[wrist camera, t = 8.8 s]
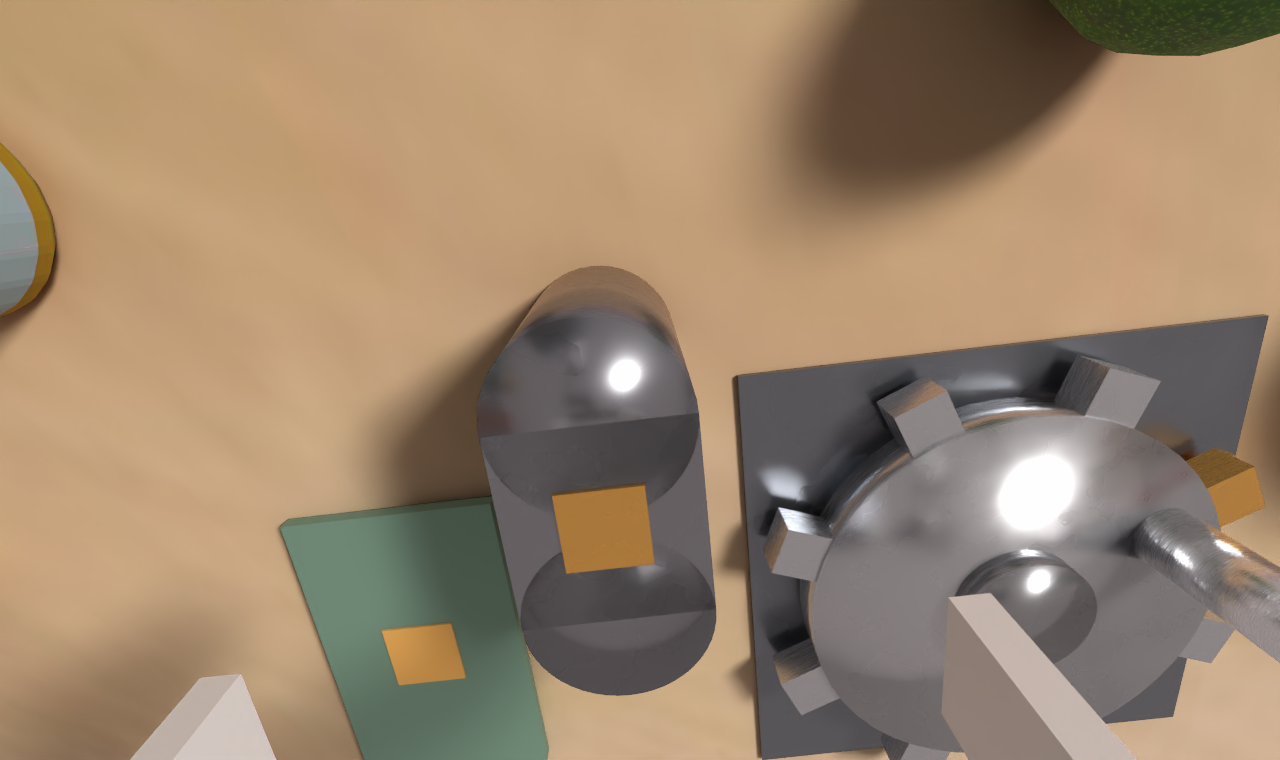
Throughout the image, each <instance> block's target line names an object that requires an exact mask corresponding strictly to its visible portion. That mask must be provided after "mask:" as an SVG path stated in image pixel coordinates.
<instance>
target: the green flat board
mask: <svg viewBox="0 0 1280 760" xmlns="http://www.w3.org/2000/svg"><path fill="white" fill-rule="evenodd" d="M280 529H281V532H282V534H283V537H284V540H285V543H286V546H287V548H288V551H289V554H290V557H291V559H292V562H293V565H294V568H295V570H296V573H297V576H298V579H299V581H300V584H301V587H302V590H303V592H304V595H305V598H306V601H307V603H308V606H309V609H310V612H311V614H312V617H313V620H314V623H315V625H316V628H317V631H318V634H319V636H320V639H321V642H322V645H323V647H324V650H325V653H326V656H327V658H328V661H329V664H330V667H331V669H332V672H333V675H334V678H335V680H336V683H337V686H338V689H339V691H340V694H341V697H342V700H343V702H344V705H345V708H346V711H347V713H348V716H349V719H350V722H351V725H352V727H353V730H354V733H355V736H356V738H357V741H358V744H359V747H360V749H361V752H362V755H363V758H364V760H547V759H548V751H549V746H548V742H547V737H546V733H545V728H544V724H543V719H542V715H541V710H540V706H539V701H538V697H537V692H536V688H535V683H534V679H533V674H532V670H531V665H530V661H529V656H528V652H527V647H526V643H525V639H524V636H523V633H522V629H521V624H520V620H519V615H518V611H517V606H516V602H515V597H514V593H513V588H512V584H511V579H510V575H509V571H508V566H507V562H506V557H505V553H504V548H503V544H502V539H501V535H500V530H499V526H498V521H497V517H496V512H495V508H494V503H493V499H492V496H489V497H480V498H471V499H463V500H454V501H445V502H436V503H427V504H418V505H409V506H401V507H392V508H383V509H374V510H365V511H356V512H347V513H339V514H330V515H321V516H312V517H303V518H294V519H288V520H287V521H286V522H285V523H284V524H283V525H282V526H281V527H280Z"/></svg>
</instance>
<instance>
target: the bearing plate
mask: <svg viewBox="0 0 1280 760" xmlns="http://www.w3.org/2000/svg"><path fill="white" fill-rule="evenodd" d="M1267 321H1268V315H1254V316H1246V317H1237V318H1228V319H1220V320H1211V321H1202V322H1194V323H1185V324H1176V325H1168V326H1159V327H1150V328H1142V329H1133V330H1124V331H1116V332H1107V333H1098V334H1090V335H1081V336H1072V337H1063V338H1055V339H1046V340H1037V341H1029V342H1020V343H1011V344H1003V345H994V346H985V347H977V348H968V349H959V350H951V351H942V352H933V353H925V354H916V355H907V356H899V357H890V358H881V359H873V360H864V361H855V362H847V363H838V364H829V365H820V366H812V367H803V368H794V369H786V370H777V371H768V372H760V373H751V374H742V375H737V381H738V396H739V412H740V428H741V443H742V459H743V475H744V491H745V506H746V522H747V538H748V554H749V569H750V585H751V601H752V616H753V632H754V648H755V664H756V679H757V695H758V711H759V727H760V742H761V757H762V760H766V759H776V758H785V757H795V756H804V755H814V754H823V753H833V752H842V751H852V750H861V749H871V748H880V747H884V746H883V744H882V741H881V737H882V735H883V732H881V731H879V730H877V729H875V728H874V727H872V726H871V725H869V724H868V723H867V722H865V721H864V720H862V719H861V718H860V717H858V716H857V715H856V714H855V713H854V712H853V711H852V710H851V709H850V708H849V707H848V706H847V705H845V704H844V703H843V701H842V700H841V699H840V698H839V699H837V700H835V701H832V702H830V703H828V704H826V705H823V706H821V707H819V708H817V709H814V710H812V711H810V712H808V713H806V714H803V715H801V714H800V713H799V711H798V710H797V708H796V707H795V705H794V704H793V702H792V701H791V699H790V698H789V696H788V695H787V693H786V692H785V690H784V689H783V687H782V686H781V683H780V680H779V677H778V673H777V670H776V667H775V664H774V660H773V657H772V655H774V654H776V653H778V652H781V651H783V650H785V649H787V648H789V647H791V646H793V645H795V644H798V643H800V642H802V641H804V640H806V639H808V638H810V637H809V634H808V631H807V628H806V625H805V622H804V619H803V616H802V609H801V602H800V579H799V578H794V577H789V576H784V575H779V574H774V573H772V572H771V570H770V567H769V564H768V562H767V559H766V556H765V553H764V551H763V546H764V544H765V541H766V538H767V536H768V533H769V530H770V528H771V525H772V522H773V520H774V517H775V515H776V512H777V509H778V507H779V508H784V509H788V510H793V511H798V512H802V513H807V514H811V515H816V516H819V515H820V513H821V512H822V510H823V509H824V507H825V506H826V504H827V502H828V501H829V499H830V498H831V496H832V495H833V493H834V492H835V491H836V490H837V488H838V487H839V486H840V485H841V484H842V483H843V481H844V480H845V479H846V478H847V477H848V475H849V474H850V473H851V472H852V471H853V470H854V469H855V468H857V467H858V466H859V465H860V464H861V463H862V462H863V461H864V460H865V459H866V458H867V457H868V456H869V455H871V454H872V453H873V452H875V451H876V450H877V449H879V448H880V447H881V446H883V445H884V444H885V443H887V442H888V441H889V440H891V439H892V438H894V437H893V435H892V433H891V431H890V429H889V427H888V425H887V423H886V421H885V419H884V417H883V415H882V413H881V411H880V409H879V407H878V404H877V401H879V400H881V399H883V398H885V397H887V396H888V395H890V394H892V393H894V392H896V391H898V390H900V389H902V388H904V387H906V386H907V385H909V384H911V383H913V382H915V381H917V380H919V379H921V378H923V377H925V376H926V377H927V378H929V379H930V380H932V381H933V382H935V383H936V384H938V385H939V386H941V387H942V388H943V389H945V390H946V391H947V392H948V394H949V396H950V399H951V401H952V403H953V405H954V408H955V409H956V408H959V407H962V406H966V405H969V404H974V403H979V402H984V401H989V400H994V399H1004V398H1016V397H1036V398H1052V399H1055V398H1056V396H1057V394H1058V392H1059V390H1060V388H1061V386H1062V384H1063V382H1064V380H1065V378H1066V376H1067V374H1068V372H1069V370H1070V368H1071V366H1072V364H1073V362H1074V361H1075V359H1076V357H1077V355H1080V356H1084V357H1088V358H1092V359H1096V360H1100V361H1103V362H1107V363H1111V364H1115V365H1119V366H1123V367H1126V368H1129V369H1131V370H1134V371H1136V372H1139V373H1141V374H1144V375H1146V376H1149V377H1152V378H1154V379H1157V380H1159V381H1161V382H1160V384H1159V386H1158V387H1157V389H1156V391H1155V393H1154V394H1153V396H1152V398H1151V400H1150V401H1149V403H1148V405H1147V407H1146V409H1145V410H1144V412H1143V414H1142V416H1141V417H1140V419H1139V421H1138V423H1137V424H1136V426H1135V428H1134V429H1136V430H1138V431H1140V432H1142V433H1144V434H1146V435H1148V436H1150V437H1152V438H1154V439H1156V440H1158V441H1160V442H1162V443H1163V444H1165V445H1166V446H1167V447H1169V448H1170V449H1171V450H1173V451H1174V452H1175V453H1177V454H1178V455H1180V456H1181V457H1182V458H1183V459H1184V460H1185V461H1187V460H1190V459H1192V458H1194V457H1196V456H1198V455H1200V454H1202V453H1204V452H1207V451H1209V450H1211V449H1213V448H1216V449H1218V450H1220V451H1222V452H1224V453H1226V454H1229V455H1231V456H1233V457H1235V455H1236V450H1237V446H1238V442H1239V438H1240V434H1241V429H1242V425H1243V421H1244V417H1245V413H1246V408H1247V404H1248V400H1249V396H1250V392H1251V388H1252V383H1253V379H1254V375H1255V371H1256V367H1257V362H1258V358H1259V354H1260V350H1261V346H1262V341H1263V337H1264V333H1265V329H1266V325H1267ZM1186 660H1187V658H1184V657H1179V656H1178V657H1177V659H1176V660H1175V661H1174V662H1173V663H1172V664H1171V665H1170V666H1169V667H1168V668H1167V669H1166V670H1165V671H1164V672H1163V673H1162V675H1161V676H1160V677H1159V678H1157V679H1156V680H1155V681H1154V682H1153V683H1152V684H1150V685H1149V686H1148V687H1147V688H1146V689H1145V690H1144V691H1142V692H1141V693H1140V694H1139V695H1137V696H1136V697H1134V698H1133V699H1132V700H1130V701H1129V702H1127V703H1126V704H1125V705H1123V706H1122V707H1120V708H1119V709H1117V710H1115V711H1114V712H1112V713H1110V714H1108V715H1107V716H1105V717H1103V718H1102V720H1103V721H1104V722H1105V723H1106V724H1108V723H1117V722H1127V721H1136V720H1146V719H1155V718H1165V717H1173V714H1174V710H1175V706H1176V702H1177V697H1178V693H1179V689H1180V685H1181V681H1182V677H1183V672H1184V668H1185V664H1186Z"/></svg>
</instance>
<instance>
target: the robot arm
mask: <svg viewBox="0 0 1280 760" xmlns="http://www.w3.org/2000/svg"><path fill="white" fill-rule="evenodd" d="M941 714H942V715H943V717H944V719H945V720H946V722H947V724H948V725H949V727H950V729H951V731H952V732H953V734H954V736H955V737H956V739H957V741H958V742H959V744H960V746H961V747H962V749H963V751H964V753H965V754H966V756H967V758H968V759H969V760H1137V759H1136V758H1135V756H1134V755H1133V754H1132V753H1131V752H1130V751H1129V750H1128V748H1127V747H1126V746H1125V745H1124V744H1123V743H1122V742H1121V741H1120V739H1119V738H1118V737H1117V736H1116V735H1115V734H1114V733H1113V731H1112V730H1111V729H1110V728H1109V727H1108V726H1107V725H1106V723H1105V722H1104V721H1103V720H1102V719H1101V718H1100V717H1099V716H1098V714H1097V713H1096V712H1095V711H1094V710H1093V709H1092V708H1091V706H1090V705H1089V704H1088V703H1087V702H1086V701H1085V700H1084V699H1083V697H1082V696H1081V695H1080V694H1079V693H1078V692H1077V691H1076V689H1075V688H1074V687H1073V686H1072V685H1071V684H1070V683H1069V681H1068V680H1067V679H1066V678H1065V677H1064V676H1063V675H1062V674H1061V672H1060V671H1059V670H1058V669H1057V668H1056V667H1055V666H1054V664H1053V663H1052V662H1051V661H1050V660H1049V659H1048V658H1047V656H1046V655H1045V654H1044V653H1043V652H1042V651H1041V650H1040V649H1039V647H1038V646H1037V645H1036V644H1035V643H1034V642H1033V641H1032V639H1031V638H1030V637H1029V636H1028V635H1027V634H1026V633H1025V632H1024V630H1023V629H1022V628H1021V627H1020V626H1019V625H1018V624H1017V622H1016V621H1015V620H1014V619H1013V618H1012V617H1011V616H1010V614H1009V613H1008V612H1007V611H1006V610H1005V609H1004V608H1003V607H1002V605H1001V604H1000V603H999V602H998V601H997V600H996V599H995V597H994V596H993V595H992V594H991V593H985V594H976V595H966V596H957V597H948V611H947V628H946V645H945V662H944V678H943V695H942V712H941ZM130 760H276V758H275V756H274V753H273V751H272V748H271V746H270V743H269V741H268V739H267V736H266V734H265V731H264V729H263V726H262V724H261V722H260V719H259V717H258V714H257V712H256V709H255V707H254V705H253V702H252V700H251V697H250V695H249V692H248V690H247V688H246V685H245V683H244V680H243V678H242V675H241V673H240V674H231V675H222V676H212V677H203V678H200V679H199V680H198V681H197V682H196V683H195V685H194V686H193V687H192V688H191V689H190V690H189V692H188V693H187V694H186V695H185V696H184V697H183V699H182V700H181V701H180V702H179V703H178V704H177V705H176V707H175V708H174V709H173V710H172V711H171V712H170V714H169V715H168V716H167V717H166V718H165V719H164V721H163V722H162V723H161V724H160V725H159V726H158V728H157V729H156V730H155V731H154V732H153V733H152V735H151V736H150V737H149V738H148V739H147V740H146V742H145V743H144V744H143V745H142V746H141V747H140V749H139V750H138V751H137V752H136V753H135V754H134V756H133V757H132V758H131V759H130Z"/></svg>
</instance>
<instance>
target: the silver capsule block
mask: <svg viewBox="0 0 1280 760" xmlns="http://www.w3.org/2000/svg"><path fill="white" fill-rule="evenodd" d="M477 428H478V435H479V440H480V445H481V449H482V454H483V458H484V463H485V467H486V472H487V476H488V481H489V485H490V490H491V494H492V499H493V503H494V508H495V512H496V517H497V521H498V526H499V530H500V535H501V539H502V544H503V548H504V553H505V557H506V562H507V566H508V571H509V575H510V579H511V584H512V588H513V593H514V597H515V602H516V606H517V611H518V615H519V620H520V624H521V629H522V633H523V636H524V639H525V642H526V644H527V646H528V648H529V650H530V652H531V653H532V655H533V656H534V657H535V659H536V660H537V661H538V662H539V663H540V665H541V666H542V667H543V668H544V669H546V670H547V671H548V672H549V673H550V674H551V675H553V676H554V677H556V678H557V679H559V680H560V681H562V682H564V683H566V684H568V685H570V686H572V687H575V688H578V689H580V690H583V691H587V692H591V693H596V694H603V695H632V694H639V693H644V692H648V691H651V690H655V689H657V688H660V687H663V686H665V685H667V684H669V683H671V682H673V681H675V680H676V679H678V678H679V677H681V676H682V675H684V674H685V673H686V672H688V671H689V670H690V669H691V668H692V667H693V666H694V665H695V664H696V663H697V662H698V661H699V660H700V659H701V657H702V656H703V654H704V653H705V651H706V650H707V648H708V646H709V644H710V642H711V640H712V637H713V633H714V630H715V624H716V603H715V592H714V580H713V569H712V558H711V546H710V535H709V523H708V512H707V501H706V489H705V478H704V467H703V455H702V444H701V432H700V421H699V411H698V405H697V399H696V396H695V393H694V389H693V386H692V383H691V380H690V377H689V373H688V370H687V367H686V364H685V361H684V358H683V354H682V351H681V348H680V345H679V342H678V338H677V335H676V332H675V329H674V326H673V323H672V319H671V316H670V313H669V311H668V309H667V307H666V305H665V303H664V301H663V300H662V298H661V297H660V295H659V294H658V293H657V292H656V291H655V290H654V288H652V287H651V286H650V285H649V284H648V283H647V282H646V281H644V280H643V279H641V278H640V277H638V276H636V275H634V274H632V273H630V272H628V271H625V270H622V269H619V268H614V267H608V266H590V267H585V268H580V269H577V270H574V271H571V272H569V273H567V274H565V275H563V276H561V277H560V278H558V279H557V280H555V281H554V282H553V283H551V284H550V285H549V286H548V287H547V288H546V289H545V290H544V291H543V293H542V294H541V295H540V296H539V298H538V299H537V301H536V302H535V304H534V305H533V307H532V308H531V310H530V311H529V313H528V314H527V315H526V317H525V318H524V320H523V321H522V323H521V324H520V326H519V327H518V329H517V330H516V332H515V333H514V334H513V336H512V337H511V339H510V340H509V342H508V343H507V345H506V346H505V348H504V349H503V351H502V352H501V353H500V355H499V356H498V358H497V359H496V361H495V362H494V364H493V365H492V367H491V369H490V370H489V372H488V374H487V376H486V378H485V380H484V383H483V385H482V388H481V392H480V395H479V400H478V407H477Z"/></svg>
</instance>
